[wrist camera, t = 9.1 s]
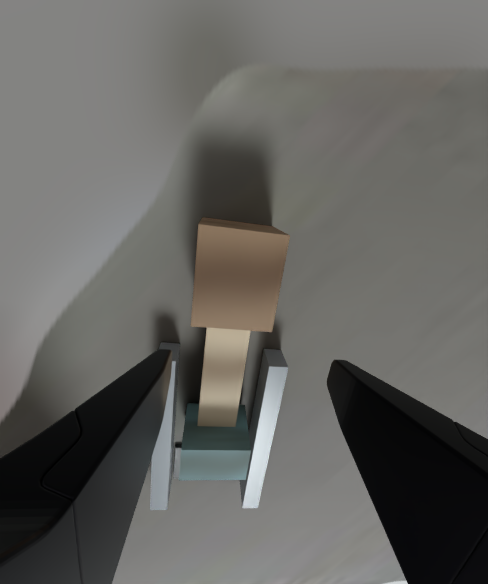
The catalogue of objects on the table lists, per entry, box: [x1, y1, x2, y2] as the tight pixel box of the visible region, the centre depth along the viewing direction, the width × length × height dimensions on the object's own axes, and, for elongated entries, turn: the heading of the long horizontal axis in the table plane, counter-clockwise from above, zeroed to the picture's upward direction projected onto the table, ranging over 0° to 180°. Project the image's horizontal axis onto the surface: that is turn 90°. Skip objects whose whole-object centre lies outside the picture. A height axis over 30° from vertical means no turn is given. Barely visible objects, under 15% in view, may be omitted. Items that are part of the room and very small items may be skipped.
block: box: [191, 217, 290, 332], centre depth 18 cm, size 6×5×5 cm
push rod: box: [179, 328, 251, 480], centre depth 20 cm, size 12×5×4 cm, turn 172°
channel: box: [150, 342, 288, 510], centre depth 24 cm, size 16×10×2 cm, turn 172°
